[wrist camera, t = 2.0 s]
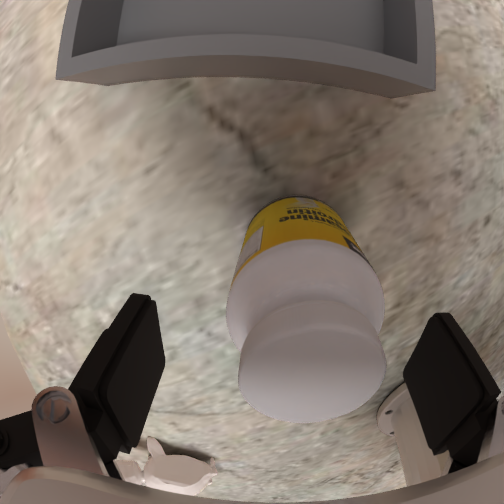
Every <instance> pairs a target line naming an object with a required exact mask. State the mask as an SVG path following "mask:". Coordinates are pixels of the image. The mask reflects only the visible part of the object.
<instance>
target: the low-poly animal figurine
mask: <svg viewBox="0 0 504 504" xmlns="http://www.w3.org/2000/svg"><path fill="white" fill-rule="evenodd" d="M147 448H148V450H149V452H150V454H151V456H148V461H147V462H146V464H145V466H144V470H143V471H141V469H140V467H139V465H138V463H137V462H135V461H132V460H131V461H125V460H116V463H117V465H118V467H119V469H120V471H121V473H122V475H123V477H124V479H125V481H127V482H131V483H135V484H138V485H141V484H142V482H145V484H146V486H147V487H150V488H154V489H159V490H164V491H168V492H174V493H179V494H185V495H191V496H194V495H197V494H198V493H200V492H201V491H203V490H204V488H205V487H206V486H207V485H208V484H209V485H211V484H212V483H213V482H212V479H211V477H213V476H214V475H217V474H218V472H217V470H216V468H215V462H214V458H213V457H211V462H210V464H207V463H206V462H204V461H200V460H197V459H195V458H192V457H189V456H185V455H166V454H165V452H164V450H163V448H162V446H161V445H160V444H159V442H158V441H157V440H156V439H155V438H152V437H148V439H147Z"/></svg>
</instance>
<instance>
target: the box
mask: <svg viewBox="0 0 504 504" xmlns="http://www.w3.org/2000/svg"><path fill="white" fill-rule="evenodd" d="M187 77H250V78H268V79H280V80H291V81H300V82H308V83H316V84H323V85H329V86H335V87H341V88H346V89H352V90H357V91H362V92H366V93H371V94H375V95H379V96H384V97H388V98H396V97H402V96H407V95H413V94H419V93H425V92H431V91H435V86H436V46H435V27H434V15H433V5H432V0H69V2H68V6H67V10H66V15H65V19H64V24H63V29H62V35H61V41H60V47H59V54H58V61H57V70H56V80H65V81H75V82H83V83H91V84H98V85H105V86H110V85H116V84H123V83H130V82H138V81H147V80H158V79H170V78H187Z"/></svg>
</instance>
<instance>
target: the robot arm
mask: <svg viewBox="0 0 504 504" xmlns="http://www.w3.org/2000/svg"><path fill="white" fill-rule="evenodd" d="M164 367H165V355H164V349H163V344H162V338H161V332H160V326H159V319H158V313H157V306H156V302H155V301H154V300H151V297H150V296H149V295H143V294H136V293H133V294H131V295H130V297H129V298H128V300H127V301H126V303H125V304H124V306H123V307H122V309H121V310H120V312H119V313H118V315H117V316H116V318H115V319H114V321H113V322H112V324H111V325H110V327H109V329H106V330H104V332H103V333H102V334H101V336H100V337H99V339H98V341H97V342H96V344H95V345H94V347H93V348H92V350H91V352H90V353H89V355H88V356H87V358H86V360H85V361H84V363H83V365H82V366H81V368H80V370H79V371H78V373H77V375H76V376H75V378H74V380H73V382H72V383H71V385H70V387H69V388H68V389H66V388H63V387H58V386H54V387H48V388H46V389H44V390H42V391H41V392H40V393H38V394H37V396H36V397H35V399H34V400H33V403H32V410H31V411H28V412H24V413H21V414H19V415H15V416H12V417H9V418H5V419H2V420H0V504H504V396H503V397H501V398H500V400H499V401H497V400H496V398H497V397H498V396H499V394H500V393H501V391H500V389H499V388H498V386H497V384H496V382H495V381H494V379H493V377H492V376H491V374H490V372H489V371H488V369H487V367H486V366H485V364H484V362H483V361H482V359H481V358H480V356H479V355H478V353H477V351H476V350H475V348H474V347H473V345H472V344H471V342H470V341H469V339H468V338H467V336H466V335H465V333H464V332H463V331H462V329H461V328H460V326H459V325H458V323H457V322H456V321H455V319H454V318H453V316H452V315H451V314H450V313H435V314H434V315H433V316H432V317H431V318H430V319H429V320H428V323H427V325H426V327H425V329H424V331H423V333H422V335H421V337H420V339H419V341H418V343H417V345H416V347H415V349H414V351H413V353H412V355H411V357H410V359H409V361H408V363H407V364H406V366H405V368H404V371H403V378H404V381H405V383H404V384H402V385H401V386H399V387H398V388H397V389H396V390H395V391H394V392H392V393H391V394H390V395H389V396H388V398H387V399H386V400H385V401H384V402H383V404H382V405H381V407H380V408H379V410H378V413H377V419H376V420H377V424H378V428H379V429H380V431H381V432H382V433H384V434H386V435H389V436H395V438H396V441H397V445H398V449H399V453H400V458H401V462H402V466H403V471H404V475H405V480H406V484H407V487H404V488H400V489H396V490H391V491H387V492H382V493H377V494H372V495H366V496H360V497H353V498H346V499H338V500H328V501H316V502H296V503H261V502H241V501H229V500H219V499H211V498H204V497H197V496H191V495H185V494H179V493H174V492H168V491H164V490H159V489H154V488H150V487H146V486H142V485H138V484H135V483H131V482H127V481H125V479H124V477H123V475H122V473H121V471H120V469H119V467H118V465H117V463H116V461H115V459H116V458H117V455H118V453H119V451H120V452H124V453H127V454H130V451H131V448H132V447H134V448H136V447H137V445H138V443H139V440H140V437H141V434H142V431H143V428H144V425H145V422H146V419H147V416H148V413H149V410H150V407H151V404H152V401H153V398H154V396H155V393H156V390H157V387H158V384H159V381H160V379H161V376H162V373H163V370H164Z"/></svg>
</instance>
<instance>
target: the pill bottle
mask: <svg viewBox="0 0 504 504" xmlns="http://www.w3.org/2000/svg"><path fill="white" fill-rule="evenodd" d="M384 312H385V301H384V294H383V290H382V287H381V284H380V282H379V279H378V277H377V275H376V273H375V271H374V270H373V268H372V266H371V265H370V263H369V262H368V260H367V259H366V257H365V256H364V254H363V253H362V251H361V249H360V248H359V246H358V245H357V243H356V241H355V240H354V238H353V236H352V235H351V233H350V232H349V230H348V229H347V227H346V226H345V224H344V222H343V221H342V219H341V218H340V217H339V215H338V214H337V213H336V212H335V211H334V210H333V209H332V208H331V207H330V206H328V205H327V204H325V203H324V202H322V201H320V200H318V199H315V198H312V197H308V196H302V195H292V196H285V197H282V198H279V199H276V200H274V201H272V202H270V203H269V204H267V205H266V206H264V207H263V208H262V209H261V210H260V211H259V212H258V213H257V214H256V215H255V216H254V218H253V219H252V221H251V223H250V225H249V227H248V230H247V232H246V235H245V239H244V243H243V246H242V249H241V253H240V256H239V259H238V263H237V266H236V270H235V273H234V277H233V280H232V284H231V288H230V291H229V295H228V299H227V306H226V321H227V327H228V330H229V333H230V336H231V338H232V340H233V342H234V344H235V346H236V347H237V349H238V350H239V351H240V352H241V357H240V365H239V373H238V384H239V388H240V391H241V394H242V395H243V397H244V399H245V400H246V401H247V403H248V404H249V405H251V406H252V407H253V408H254V409H256V410H257V411H258V412H260V413H262V414H264V415H266V416H269V417H271V418H274V419H277V420H281V421H286V422H293V423H313V422H320V421H325V420H330V419H333V418H336V417H339V416H342V415H345V414H347V413H349V412H352V411H354V410H355V409H357V408H359V407H360V406H362V405H363V404H364V403H365V402H367V401H368V400H369V399H370V398H371V397H372V396H373V395H374V394H375V393H376V392H377V390H378V389H379V387H380V386H381V384H382V382H383V380H384V377H385V373H386V358H385V353H384V350H383V348H382V345H381V342H380V339H379V336H378V334H379V332H380V330H381V327H382V323H383V319H384Z"/></svg>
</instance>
